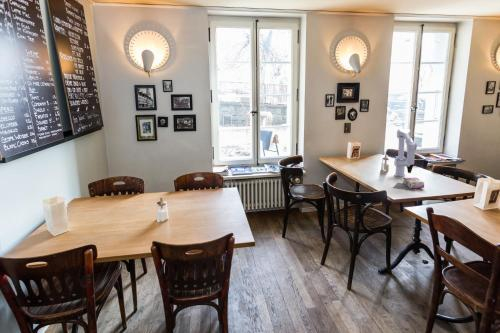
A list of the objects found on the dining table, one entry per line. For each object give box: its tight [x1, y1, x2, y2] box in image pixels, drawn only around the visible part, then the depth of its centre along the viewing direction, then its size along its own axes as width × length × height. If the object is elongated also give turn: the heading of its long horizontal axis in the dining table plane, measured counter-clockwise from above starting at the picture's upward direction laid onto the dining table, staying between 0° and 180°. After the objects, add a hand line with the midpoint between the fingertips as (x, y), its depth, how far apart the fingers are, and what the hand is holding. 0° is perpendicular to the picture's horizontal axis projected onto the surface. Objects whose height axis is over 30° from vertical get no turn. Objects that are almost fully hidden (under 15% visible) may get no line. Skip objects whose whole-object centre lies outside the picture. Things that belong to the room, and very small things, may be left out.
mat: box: [392, 182, 417, 192], centre depth 267 cm, size 16×16×1 cm
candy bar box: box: [402, 177, 425, 189], centre depth 266 cm, size 11×5×16 cm
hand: (409, 172), depth 273 cm, fingers closed
